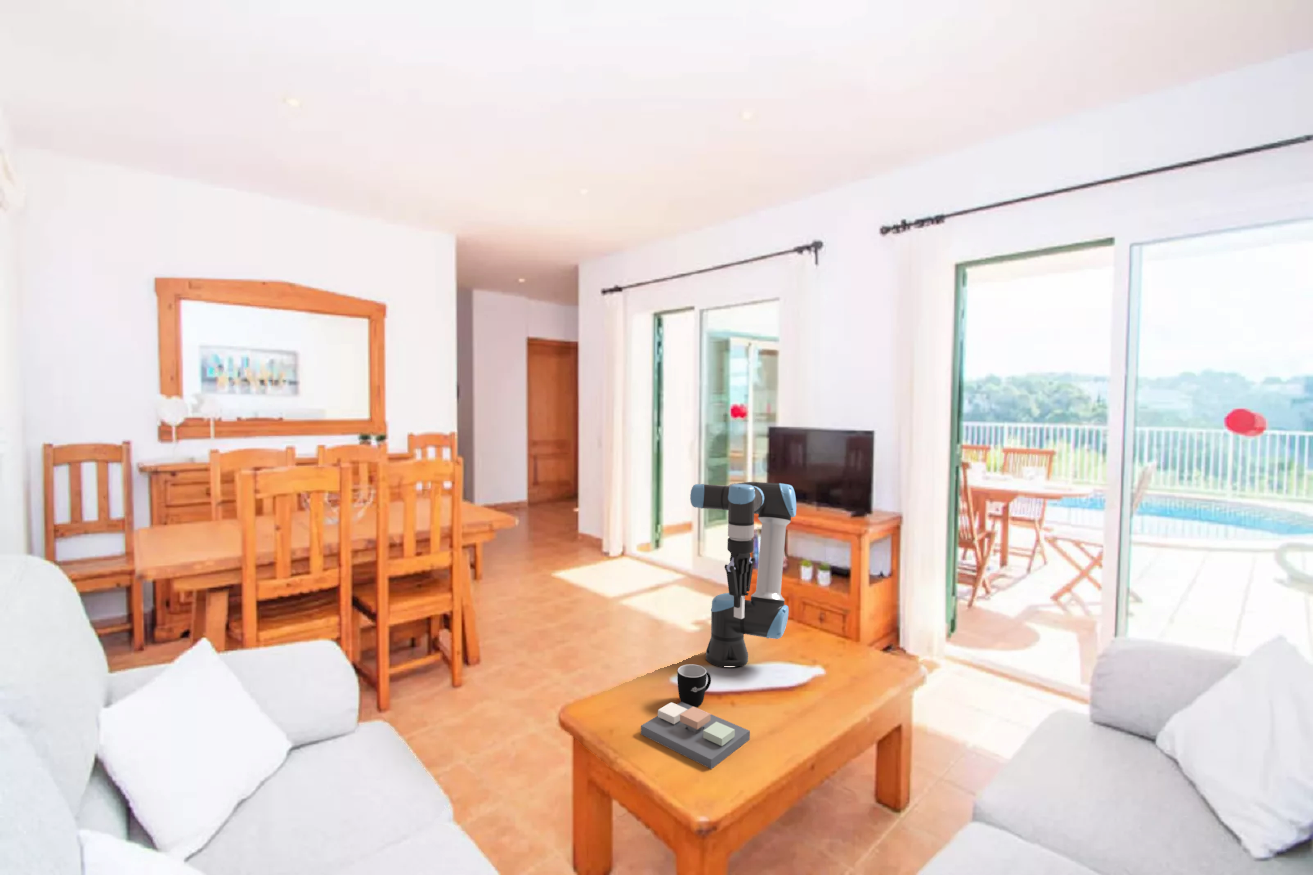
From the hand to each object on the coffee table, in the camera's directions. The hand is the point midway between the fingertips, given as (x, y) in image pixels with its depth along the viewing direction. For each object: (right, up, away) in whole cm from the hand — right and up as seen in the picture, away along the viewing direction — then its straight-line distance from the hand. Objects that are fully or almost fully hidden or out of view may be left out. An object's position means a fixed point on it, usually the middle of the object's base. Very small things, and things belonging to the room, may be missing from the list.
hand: (739, 617), depth 179 cm
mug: (-12, -29, +10) cm, 33 cm away
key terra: (-14, -28, -10) cm, 33 cm away
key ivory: (-20, -29, -5) cm, 35 cm away
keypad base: (-14, -30, -10) cm, 35 cm away
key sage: (-8, -30, -16) cm, 35 cm away
